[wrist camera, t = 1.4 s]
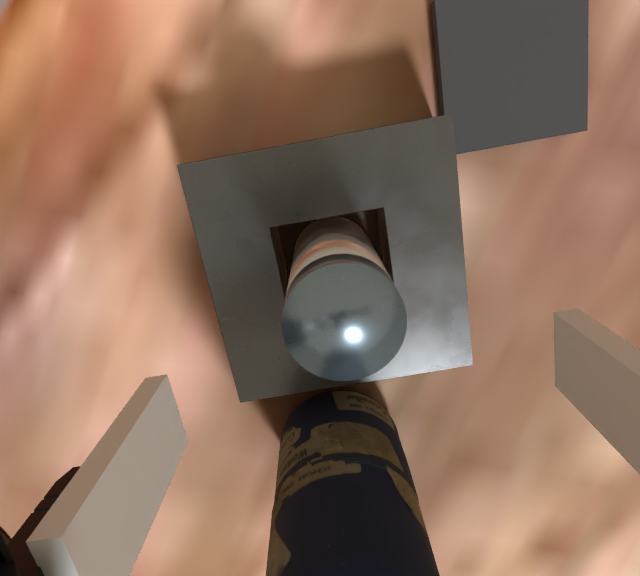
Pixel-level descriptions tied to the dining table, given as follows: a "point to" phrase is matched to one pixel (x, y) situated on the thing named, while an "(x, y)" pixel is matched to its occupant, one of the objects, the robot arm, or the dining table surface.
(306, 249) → the silver metal cylinder
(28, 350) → the dining table surface
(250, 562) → the dining table surface
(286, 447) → the canister
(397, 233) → the housing
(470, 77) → the coaster
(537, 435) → the dining table surface
